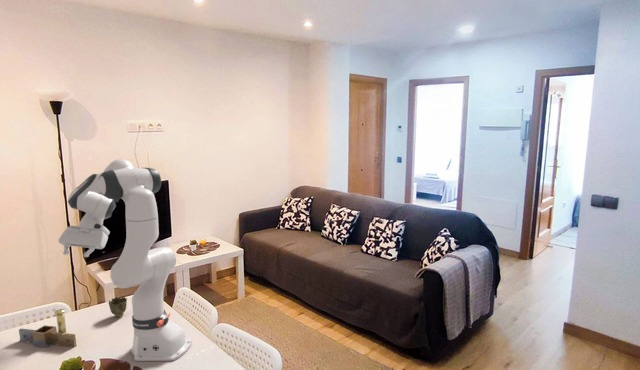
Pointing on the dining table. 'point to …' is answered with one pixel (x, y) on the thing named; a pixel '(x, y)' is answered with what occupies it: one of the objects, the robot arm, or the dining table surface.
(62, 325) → the hinge pin
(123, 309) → the cup
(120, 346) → the dining table surface
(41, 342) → the hinge
